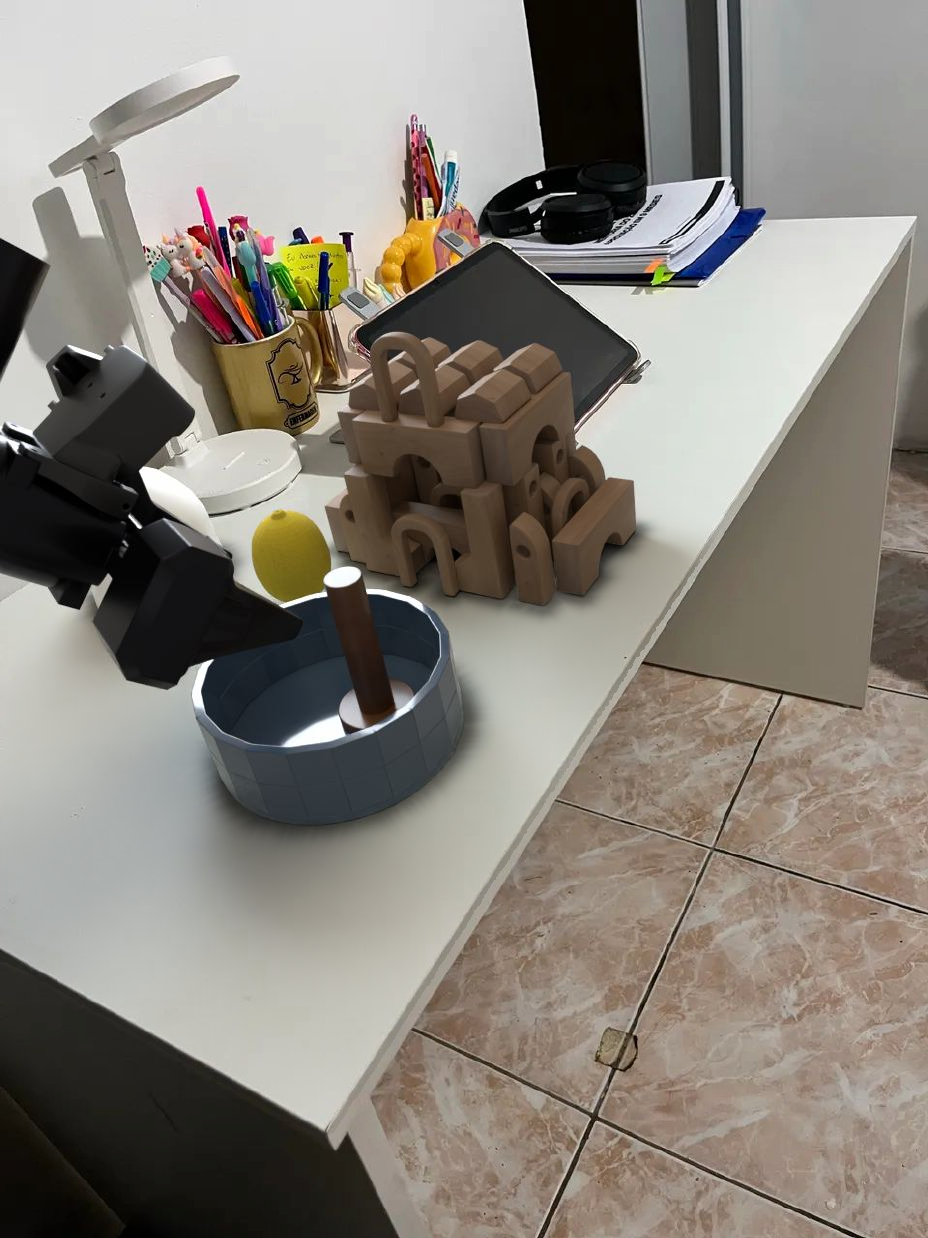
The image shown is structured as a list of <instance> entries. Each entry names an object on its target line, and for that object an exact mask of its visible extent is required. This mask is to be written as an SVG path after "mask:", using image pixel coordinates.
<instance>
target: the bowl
mask: <svg viewBox="0 0 928 1238" xmlns="http://www.w3.org/2000/svg"><path fill="white" fill-rule="evenodd" d="M366 591H367V595H368V599H369V603H370V607H371V611H372V615H373V619H374V623H375V626H376V630H377V634H378V638H379V642H380V646H381V650H382V654H383V658H384V662H385V666H386V670H387V674H388V677H389V678H390V679H396V680H400V681H403V682H405V683H406V684H408V685H409V686H410V687H411V688H412V690H413V691H414V694H415V696H414V697H413V698H412V699H411V700H410V701H409V702H408V703H407V704H406V705H405V706H404V707H402V708H401V709H399V710H397V711H396V712H394V713H393V714H391V715H389V716H388V717H386V718H384V719H383V720H381V721H380V722H378V723H376V724H375V725H373V726H371V727H369V728H366V729H363V730H360V731H358V732H355V733H352V734H351V733H350V732H348V731H347V730H346V729H345V728H344V727H343V725H342V723H341V720H340V717H339V713H338V709H339V705H340V702H341V700H342V699H343V697H344V696H345V695H346V694H347V693H348V692H349V691H350V690H352V689H353V685H352V681H351V678H350V674H349V671H348V667H347V664H346V660H345V656H344V653H343V649H342V646H341V642H340V639H339V635H338V632H337V628H336V625H335V621H334V618H333V614H332V611H331V607H330V604H329V600H328V597H327V593H326V591H324V592H323V591H322V592H321V593H317V594H312V595H309V596H306V597H303V598H300V599H296V600H293V601H290V602H287V603H286V602H283V603H282V604H281V603H280V604H278V605H279V606H281V607H283V608H285V609H286V610H288V611H290V612H291V613H293V614H295V615H296V616H298V617H300V618H301V619H302V620H303V625H302V627H301V629H300V631H299V633H298V635H297V637H296V638H295V639H294V640H291V641H286V642H282V643H278V644H273V645H269V646H265V647H260V648H256V649H252V650H247V651H243V652H239V653H235V654H231V655H227V656H223V657H220V658H216V659H213V660H210V661H207V662H204V663H201V664H200V665H199V666H200V667H199V668H198V670H197V673H196V676H195V680H194V683H193V686H192V689H191V693H190V696H191V702H192V707H193V712H194V717H195V720H196V722H197V725H198V727H199V730H200V732H201V735H202V737H203V739H204V741H205V744H206V746H207V749H208V751H209V753H210V755H211V757H212V761H213V763H214V765H215V767H216V770H217V772H218V775H219V778H220V780H221V781H222V782H223V783H224V786H225V787H226V789H227V790H228V792H229V793H230V795H231V796H232V798H234V799H235V801H236V802H237V803H239V804H240V805H242V807H244V808H245V809H247V810H248V811H250V812H252V813H254V814H256V815H257V816H260V817H261V818H265V819H268V820H270V821H274V822H278V823H283V824H289V825H297V826H298V825H300V826H321V825H332V824H338V823H343V822H347V821H353V820H356V819H357V820H358V819H360V818H363V817H366V816H370V815H372V814H375V813H378V812H380V811H383V810H385V809H387V808H389V807H391V806H393V805H395V804H398V803H400V802H401V801H403V800H405V799H406V798H408V797H409V796H411V795H413V794H414V793H415V792H418V790H420V789H421V788H422V787H423V786H424V785H426V784H427V783H428V782H430V781H431V780H432V779H433V778H434V777H435V776H436V775H437V774H438V773H439V772H440V771H441V770H442V769H443V768H444V767H445V765H446V764H447V762H448V761H449V760H450V758H451V757H452V755H453V753H454V751H455V750H456V748H457V746H458V744H459V741H460V738H461V736H462V731H463V728H464V706H463V699H462V698H463V697H462V691H461V685H460V679H459V675H458V669H457V665H456V661H455V655H454V651H453V645H452V640H451V636H450V635H451V634H450V631H449V630H448V628H447V627H446V625H445V624H444V622H443V620H442V619H441V618H440V616H439V613H438V612H436V610H434V609H432V608H430V607H429V606H428V605H426V604H424V603H423V602H421V601H419V600H418V599H416V598H415V597H413V596H409V595H405V594H402V593H398V592H395V591H394V592H393V591H391V590H386V589H377V588H366Z"/></svg>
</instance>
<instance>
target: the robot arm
mask: <svg viewBox="0 0 928 1238" xmlns="http://www.w3.org/2000/svg"><path fill="white" fill-rule="evenodd" d="M50 269H51V264H49V263H47V262H46V261H43V260H42V259H40V258H39V257H37V256H35V255H33V254H31V253H29V252H28V251H26V250H24V249H22V248H21V247H19V246H17V245H15V244H13V243H11V242H9V241H7V240H6V239H4V238H2V237H0V383H1V382H2V380H3V377H4V376H5V373H6V371H7V369H8V366H9V364H10V361H11V359H12V356H13V354H14V352H15V350H16V349H17V345H18V342H19V341H20V338H21V336H22V333H23V331H24V329H25V327H26V324H27V322H28V319H29V318H30V316H31V313H32V310H33V308H34V306H35V304H36V301H37V299H38V297H39V295H40V292H41V290H42V287H43V285H44V282H45V280H46V277H47V275H48V273H49V270H50ZM103 353H104V354H105V355H104V356H101V355H99V354H96V353H94V352H91V351H87V350H84V349H82V348H79V347H76V346H73V345H69V344H65V345H64V346H63V347H62V348H61V349H60V350H59V351H58V352H56V354H55V355H54V356H53V357H52V358H51V359H50V360H49V361H47V363H45V368H46V370H47V374H48V376H49V378H50V382H51V383H52V386H53V389H54V392H55V394H56V396H57V398H58V401H55V399H53V400H51V401H50V402H49V403H48V405H47V407H48V409H49V410H50V412H49V414H48V415H47V416H45V418H44V419H43V420H42V421H41V422H40V424H38V426H36V427H35V428H34V430H31V429H27V428H25V427H22V426H20V425H17V424H16V423H12V422H10V421H4V422H3V424H2V425H0V574H1V575H3V576H8V577H10V578H14V579H18V580H22V581H25V582H29V583H32V584H35V585H38V586H42V587H46V588H47V589H48V591H49V592H50V593H51V596H52V597H53V599H54V600H55V602H56V603H57V605H59V606H62V607H63V606H64V607H67V608H70V609H74V610H78V611H81V608H82V607H83V605H84V602H85V600H86V598H87V596H88V593H89V592H90V590H91V588H90V587H91V585H94V586H99V585H100V584H101V583H102V581H103V580H104V579H105V577H106V576H107V574H109V575H110V576H111V578H112V581H111V583H110V585H109V587H108V589H107V591H106V593H105V595H104V598H103V600H102V602H101V604H100V606H99V608H98V607H97V610H96V612H95V614H94V616H93V619H92V621H91V622H92V624H93V626H94V629H95V631H96V633H97V635H98V637H99V639H100V641H101V644H102V645H103V647H104V648H105V650H106V652H107V653H108V655H109V656H110V658H111V659H112V661H113V662H114V664H115V665H116V667H117V668H118V670H119V671H120V673H121V674H122V676H123V677H124V679H125V680H126V681H127V682H131V683H135V684H140V685H143V686H148V687H153V688H156V689H159V690H165V691H168V690H170V689H172V688H174V687H176V686H178V684H179V683H180V681H181V678H183V677H185V675H186V674H187V673H188V670H189V669H190V668H191V667H194V666H198V665H202V664H203V663H204V662H207V661H210V660H213V659H216V658H220V657H223V656H227V655H231V654H235V653H239V652H243V651H247V650H252V649H256V648H260V647H265V646H269V645H273V644H278V643H282V642H286V641H291V640H294V639H295V638H296V637H297V635H298V633H299V631H300V629H301V627H302V625H303V620H302V619H301V618H300V617H298V616H296V615H295V614H293V613H291V612H290V611H288V610H286V609H285V608H283V607H281V606H279V605H280V604H278V603H276V602H274V601H273V600H271V599H269V598H267V597H265V596H263V595H261V594H260V593H258V592H256V591H254V590H253V589H251V588H250V587H247V586H246V585H244V584H242V583H240V582H238V581H237V580H235V578H234V574H235V565H234V563H233V562H234V561H233V560H232V559H233V553H232V552H231V551H230V550H229V549H227V548H225V547H224V546H223V545H222V544H221V545H222V546H221V545H219V544H218V543H216V542H215V541H213V540H212V539H211V538H210V537H209V536H208V535H207V536H206V535H204V534H203V533H201V532H199V531H198V530H196V529H195V528H193V527H192V526H190V525H189V524H187V523H186V522H184V521H183V520H181V519H180V518H178V517H177V516H175V515H174V514H172V513H171V512H169V511H167V510H166V509H164V508H163V507H162V506H160V505H159V504H157V503H156V502H154V501H153V500H151V498H150V496H149V493H148V491H147V489H146V486H145V484H144V481H143V479H142V476H141V474H140V472H139V471H140V470H141V469H142V468H143V467H146V465H147V464H148V463H149V462H150V461H151V460H152V459H153V458H154V457H155V456H156V455H157V454H158V453H159V452H160V451H161V450H162V449H163V448H164V447H165V446H166V445H167V444H168V443H169V442H170V441H171V439H173V438H177V437H181V436H182V435H183V434H184V433H185V432H186V431H187V430H188V429H189V427H190V426H191V425H192V423H193V421H194V419H195V416H196V410H195V408H194V407H193V406H192V405H191V404H190V403H189V402H188V401H187V400H186V399H185V398H184V396H182V395H181V393H179V392H178V391H177V390H176V388H174V386H172V385H171V384H170V382H169V381H167V380H166V378H165V377H164V376H163V375H162V374H161V373H159V371H158V370H157V369H156V368H155V367H154V366H153V365H152V364H151V363H150V362H149V361H148V360H147V359H146V358H145V357H143V356H142V355H140V354H138V353H137V352H136V351H134V350H133V349H131V348H130V347H128V346H127V345H120V346H117V347H113V346H111V345H110V344H109V345H107V346H106V347H105V348H104V349H103Z"/></svg>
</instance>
